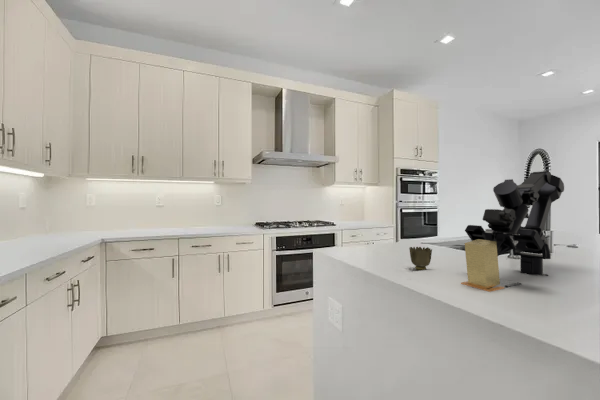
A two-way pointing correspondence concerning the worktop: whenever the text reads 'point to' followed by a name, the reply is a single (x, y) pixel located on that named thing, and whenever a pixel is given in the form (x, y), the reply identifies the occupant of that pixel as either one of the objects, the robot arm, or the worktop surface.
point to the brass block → (482, 263)
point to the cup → (420, 257)
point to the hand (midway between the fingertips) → (488, 258)
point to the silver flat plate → (502, 285)
